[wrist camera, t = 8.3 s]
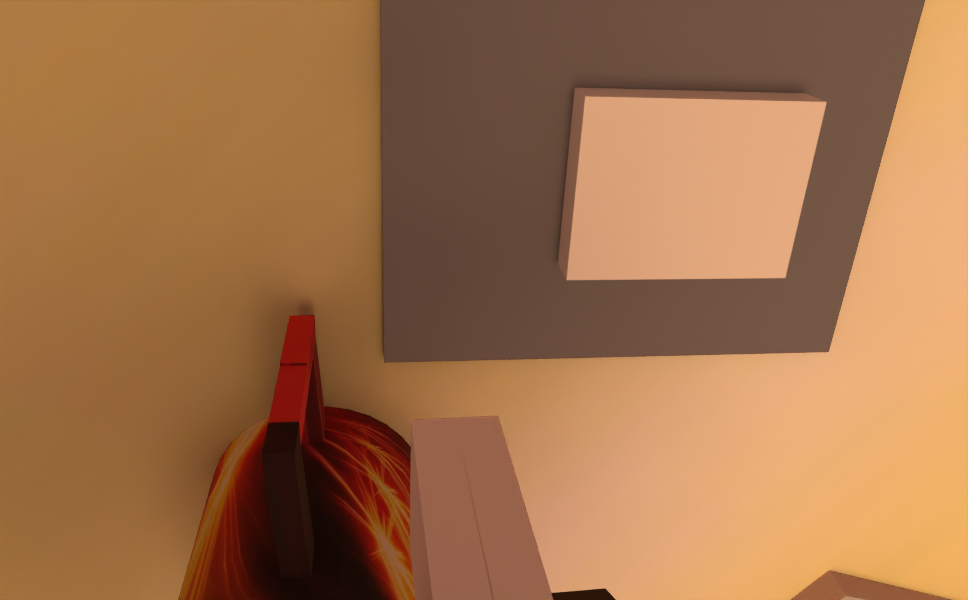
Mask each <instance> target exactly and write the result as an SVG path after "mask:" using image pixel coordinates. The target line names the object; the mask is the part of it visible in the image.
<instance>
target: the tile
mask: <svg viewBox="0 0 968 600" xmlns="http://www.w3.org/2000/svg"><path fill="white" fill-rule="evenodd" d="M826 103H827V102H826V101H823V100H821V99H818V98H816V97H813V96H811V95H808V94H806V93H777V92H736V91H695V90H654V89H614V88H574V99H573V109H572V120H571V130H570V141H569V151H568V161H567V172H566V182H565V193H564V203H563V214H562V224H561V234H560V245H559V255H558V265H559V267H560V269H561V271H562V273H563V275H564V277H565V278H566V280H642V279H743V278H785V277H786V273H787V269H788V264H789V260H790V256H791V252H792V247H793V243H794V239H795V235H796V231H797V226H798V222H799V218H800V214H801V209H802V205H803V201H804V197H805V192H806V188H807V184H808V180H809V175H810V171H811V167H812V163H813V158H814V154H815V150H816V146H817V141H818V137H819V133H820V129H821V124H822V120H823V116H824V112H825V107H826Z"/></svg>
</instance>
